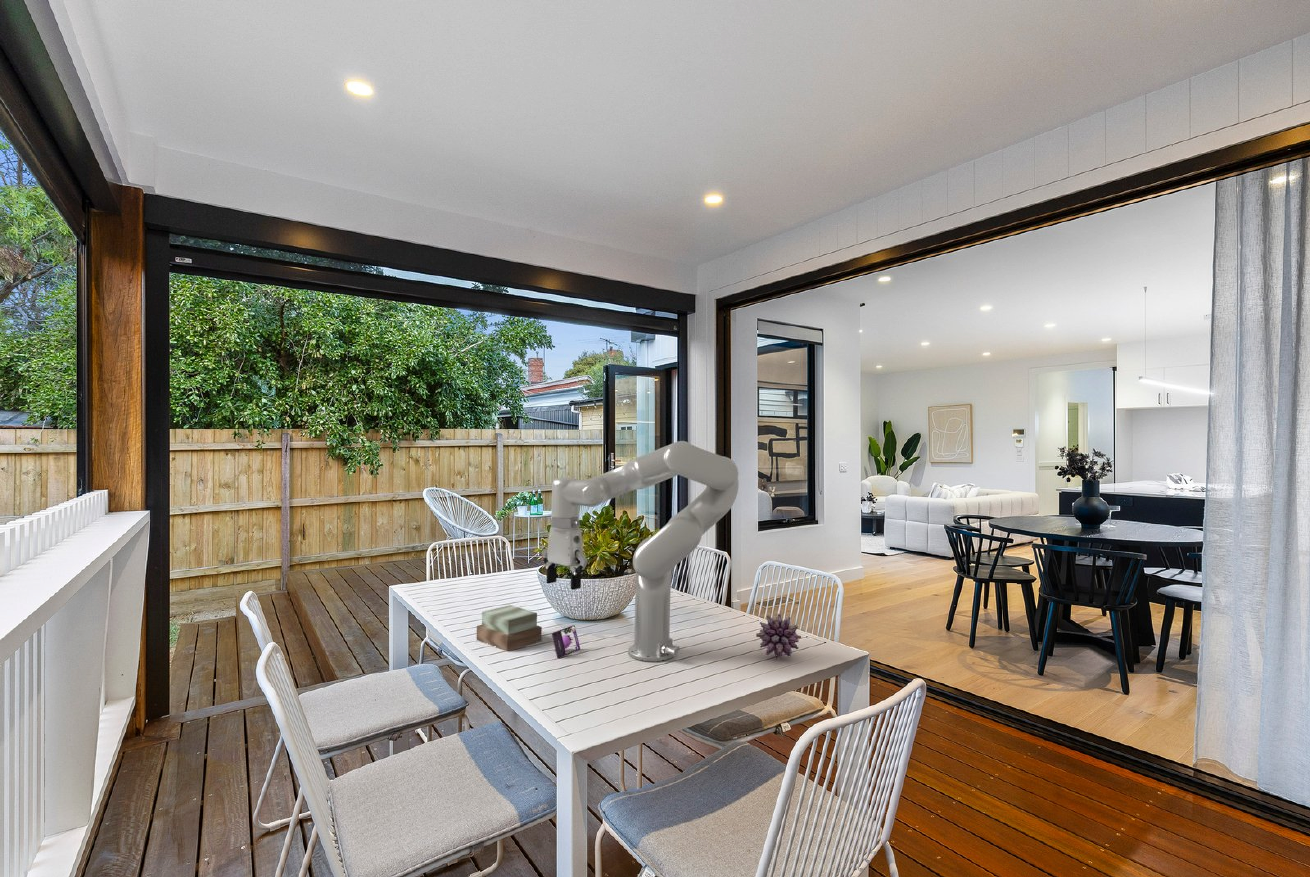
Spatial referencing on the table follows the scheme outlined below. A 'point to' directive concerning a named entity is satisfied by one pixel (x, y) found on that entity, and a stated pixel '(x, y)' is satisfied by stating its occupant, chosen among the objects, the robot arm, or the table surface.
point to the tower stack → (509, 628)
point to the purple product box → (564, 641)
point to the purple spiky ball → (778, 636)
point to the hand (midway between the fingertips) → (563, 585)
